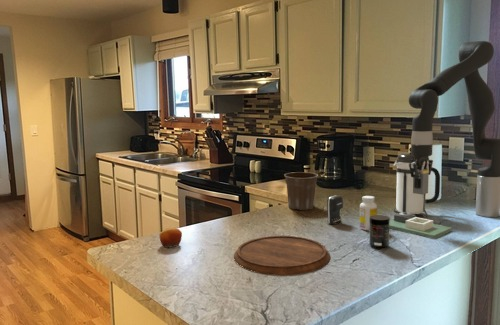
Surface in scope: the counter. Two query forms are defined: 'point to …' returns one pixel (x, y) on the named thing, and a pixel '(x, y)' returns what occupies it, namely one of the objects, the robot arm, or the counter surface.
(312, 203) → the plant pot
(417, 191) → the plug
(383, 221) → the supplement container
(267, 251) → the cutting board
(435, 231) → the header board
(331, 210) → the battery charger
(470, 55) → the robot arm
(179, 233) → the fruit
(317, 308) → the counter surface
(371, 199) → the supplement bottle
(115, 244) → the counter surface
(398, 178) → the coffee press
